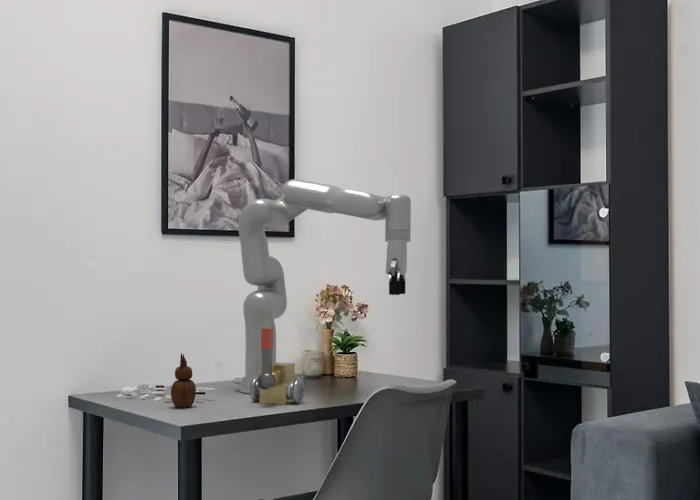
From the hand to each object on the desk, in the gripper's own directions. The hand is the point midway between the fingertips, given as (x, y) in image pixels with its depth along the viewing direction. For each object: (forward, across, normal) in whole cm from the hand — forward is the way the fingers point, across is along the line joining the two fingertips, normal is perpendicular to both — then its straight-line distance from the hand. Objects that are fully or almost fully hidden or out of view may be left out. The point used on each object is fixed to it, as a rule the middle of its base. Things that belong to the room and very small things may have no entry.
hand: (397, 294), depth 265 cm
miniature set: (+32, +17, -67) cm, 76 cm away
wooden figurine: (+31, +31, -54) cm, 70 cm away
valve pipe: (+31, +17, -32) cm, 48 cm away
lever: (+26, +24, -33) cm, 48 cm away
